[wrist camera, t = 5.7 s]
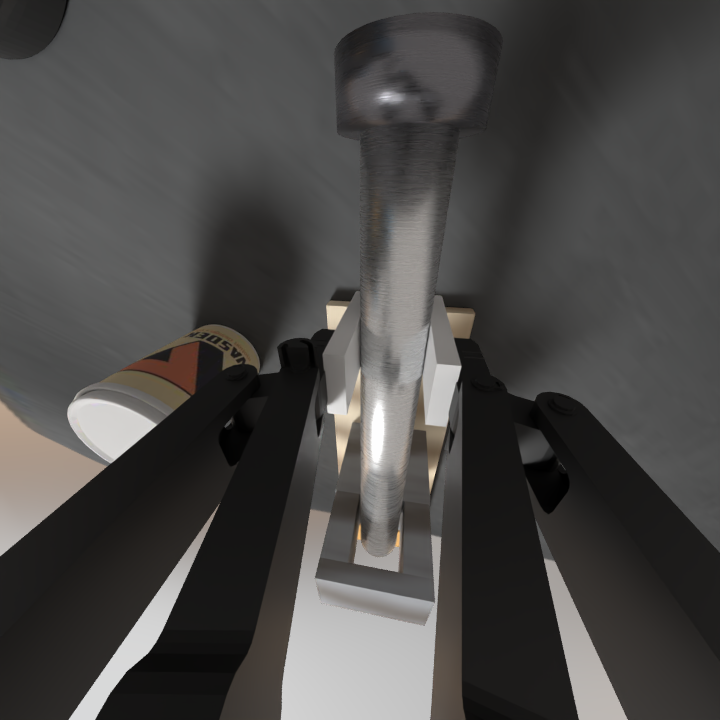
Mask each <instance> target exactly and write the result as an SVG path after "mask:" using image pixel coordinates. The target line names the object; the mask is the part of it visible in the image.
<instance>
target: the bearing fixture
mask: <svg viewBox="0 0 720 720" xmlns="http://www.w3.org/2000/svg"><path fill="white" fill-rule="evenodd" d="M349 303H350V302H349V301H331V300H330V301H329V302H328V304H327V305H326V307H327V321H328V329H332V330H336V328H337V326H338V324H339V322H340V320H341V318H342V316H343V315H344V313H345V311H346V309H347V307H348V305H349ZM445 309H446V312H447V316H448V319H449V323H450V327H451V330H452V334H453V337H454V338H466V339H469V337H470V333H471V329H472V325H473V321H474V317H475V313H474V311H473V309H472V308H454V307H445ZM448 421H449V418H448ZM447 425H448V422H447ZM335 428H336V441H337V455H338V468H339V478H338V482H337V486H336V490H335V491H336V495H335V499H334V503H333V507H332V511H331V515H330V519H329V523H328V527H327V531H326V535H325V539H324V543H323V547H322V552H321V556H320V560H319V564H318V568H317V572H316V576H315V580H316V584H317V589H318V593H319V597H320V601H321V604H326V605H330V606H335V607H340V608H344V609H349V610H354V611H358V612H363V613H368V614H372V615H377V616H381V617H386V618H391V619H395V620H400V621H404V622H409V623H414V624H419V625H423V626H424V625H425V623H426V621H427V619H428V616H429V614H430V612H431V610H432V607H433V606H434V603H435V598H434V579H433V563H432V545H431V526H430V505H431V504H430V492H431V488H432V484H433V480H434V476H435V472H436V468H437V464H438V460H439V456H440V452H441V448H442V444H443V440H444V437H445V433H446V429H447V426H446V427H442V426H434V425H425V410H424V393H423V376H422V379H421V386H420V392H419V398H418V405H417V411H416V418H415V424H414V431H413V437H412V443H411V450H410V456H409V463H408V469H407V476H406V482H405V488H404V495H403V501H402V508H401V514H400V520H399V527H398V530H400V541H399V571H398V572H394V571H388V570H383V569H377V568H373V567H367V566H362V565H357V564H354V557H355V551H356V544H357V538H358V531H359V525H360V524H361V419H360V370H359V374H358V377H357V381H356V384H355V388H354V391H353V395H352V399H351V402H350V406H349V409H348V413H347V415H340V414H335Z"/></svg>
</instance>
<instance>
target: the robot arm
mask: <svg viewBox="0 0 720 720" xmlns="http://www.w3.org/2000/svg"><path fill="white" fill-rule="evenodd" d="M65 5H66V0H0V58H4V59H24V58H28V57H31V56H34V55H36V54H38V53H39V52H40V51H42V50H43V49H44V48H45V47H46V46H47V45H48V44H49V43H50V42H51V41H52V39H53V38H54V36H55V34H56V33H57V31H58V28H59V26H60V24H61V21H62V17H63V14H64V10H65ZM277 348H278V353H279V358H280V364H281V369H280V372H278V373H271V374H262V375H259V374H258V370H257V368H256V367H255V366H253V365H250V364H238V365H233V366H231V367H228V368H226V369H224V370H223V371H221V372H220V373H218V374H217V375H216V376H215V377H214V378H212V379H211V380H210V381H209V382H208V383H206V384H205V385H204V386H203V387H202V388H201V389H199V390H198V391H197V392H196V393H195V394H193V395H192V396H191V397H190V398H189V399H187V400H186V401H185V402H184V403H183V404H181V405H180V406H179V407H178V408H177V409H176V410H174V411H173V412H172V413H171V414H170V415H168V416H167V417H166V418H165V419H164V420H162V421H161V422H160V423H159V424H158V425H156V426H155V427H154V428H153V429H152V430H150V431H149V432H148V433H147V434H146V435H145V436H143V437H142V438H141V439H140V440H139V441H137V442H136V443H135V444H134V445H133V446H131V447H130V448H129V449H128V450H127V451H125V452H124V453H123V454H122V455H121V456H119V457H118V458H117V459H116V460H115V461H114V462H112V463H111V464H110V465H109V466H108V467H106V468H105V469H104V470H103V471H102V472H100V473H99V474H98V475H97V476H96V477H95V478H93V479H92V480H91V481H90V482H88V483H87V484H86V485H85V486H84V487H83V488H81V489H80V490H79V491H78V492H77V493H75V494H74V495H73V496H72V497H71V498H69V499H68V500H67V501H66V502H65V503H64V504H62V505H61V506H60V507H59V508H58V509H56V510H55V511H54V512H53V513H52V514H50V515H49V516H48V517H47V518H46V519H44V520H43V521H42V522H41V523H40V524H38V525H37V526H36V527H35V528H34V529H32V530H31V531H30V532H29V533H28V534H27V535H25V536H24V537H23V538H22V539H21V540H19V541H18V542H17V543H16V544H15V545H14V546H12V547H11V548H10V549H9V550H8V551H6V552H5V553H4V554H3V555H1V556H0V720H69V718H70V717H71V715H72V714H73V712H74V711H75V710H76V708H77V707H78V705H79V704H80V702H81V701H82V699H83V698H84V697H85V695H86V694H87V692H88V691H89V689H90V688H91V686H92V685H93V684H94V682H95V681H96V679H97V678H98V677H99V675H100V674H101V672H102V671H103V669H104V668H105V667H106V665H107V664H108V662H109V661H110V659H111V658H112V657H113V655H114V654H115V652H116V651H117V649H118V648H119V646H120V645H121V644H122V642H123V641H124V639H125V638H126V637H127V635H128V634H129V632H130V631H131V629H132V628H133V627H134V625H135V624H136V622H137V621H138V619H139V618H140V616H141V615H142V614H143V612H144V611H145V609H146V608H147V606H148V605H149V604H150V602H151V601H152V599H153V598H154V596H155V595H156V594H157V592H158V591H159V589H160V588H161V586H162V585H163V584H164V582H165V581H166V579H167V578H168V576H169V575H170V574H171V572H172V571H173V569H174V568H175V566H176V565H177V564H178V562H179V561H180V559H181V558H182V556H183V555H184V554H185V552H186V551H187V549H188V548H189V546H190V545H191V543H192V542H193V541H194V539H195V538H196V536H197V535H198V533H199V532H200V531H201V529H202V528H203V526H204V525H205V523H206V522H207V520H208V519H209V518H210V516H211V515H212V513H213V512H214V511H215V509H216V507H217V506H218V505H219V503H220V505H219V507H218V509H217V511H216V513H215V516H214V518H213V520H212V522H211V525H210V527H209V529H208V532H207V533H206V536H205V538H204V540H203V542H202V544H201V547H200V549H199V551H198V553H197V556H196V558H195V560H194V562H193V565H192V567H191V569H190V572H189V574H188V575H187V578H186V580H185V582H184V584H183V587H182V589H181V591H180V593H179V595H178V598H177V600H176V602H175V604H174V606H173V609H172V611H171V613H170V615H169V618H168V620H167V622H166V624H165V626H164V629H163V631H162V633H161V634H160V636H159V638H158V640H157V642H156V643H155V645H154V646H153V648H152V649H151V650H150V652H149V653H148V654H147V655H146V656H145V657H143V658H142V659H141V660H140V661H139V662H138V663H136V664H135V665H134V666H133V667H132V668H131V669H129V670H128V671H127V672H126V674H125V675H124V676H123V678H122V679H121V680H120V681H119V683H118V684H117V685H116V687H115V688H114V689H113V690H112V692H111V693H110V695H109V697H108V698H107V700H106V702H105V703H104V705H103V707H102V709H101V710H100V712H99V714H98V716H97V718H96V719H95V720H281V709H282V701H281V700H282V680H283V673H284V666H285V660H286V654H287V648H288V642H289V635H290V629H291V623H292V617H293V611H294V605H295V599H296V593H297V586H298V580H299V574H300V568H301V562H302V556H303V550H304V544H305V538H306V531H307V525H308V518H309V513H310V507H311V501H312V495H313V489H314V482H315V476H316V470H317V464H318V458H319V452H320V446H321V440H322V433H323V427H324V410H325V407H326V404H327V409H328V413H331V414H340V415H347V413H348V409H349V406H350V402H351V399H352V395H353V391H354V388H355V384H356V381H357V377H358V374H359V370H360V291H356V292H355V294H354V296H353V298H352V300H351V301H350V303H349V305H348V307H347V309H346V311H345V313H344V315H343V316H342V318H341V320H340V322H339V324H338V326H337V328H336V330H332V329H321V330H320V331H318V332H316V333H315V334H314V335H313V337H312V338H311V340H310V339H307V338H294V339H290V340H286V341H285V342H283V343H281V344H280V345H279V346H278V347H277ZM422 376H423V393H424V410H425V425H434V426H442V427H446V426H447V422H448V418H449V421H450V429H449V433H448V437H447V441H446V444H445V448H444V451H447V455H446V472H445V488H444V505H443V522H442V538H441V557H440V573H439V589H438V605H437V622H436V639H435V656H434V672H433V689H432V706H431V719H430V720H579V719H578V714H577V710H576V705H575V700H574V696H573V691H572V686H571V682H570V678H569V673H568V668H567V664H566V659H565V655H564V650H563V645H562V641H561V636H560V631H559V627H558V622H557V618H556V613H555V609H554V604H553V600H552V595H551V591H550V586H549V581H548V577H547V572H546V568H545V563H544V558H543V554H542V549H541V544H540V540H539V535H538V531H537V526H536V522H535V519H536V521H537V523H538V525H539V527H540V529H541V532H542V534H543V536H544V538H545V540H546V543H547V545H548V547H549V549H550V551H551V553H552V556H553V558H554V560H555V562H556V564H557V566H558V569H559V571H560V573H561V575H562V577H563V579H564V582H565V584H566V586H567V588H568V590H569V592H570V595H571V597H572V599H573V601H574V603H575V606H576V608H577V610H578V612H579V614H580V617H581V619H582V621H583V623H584V625H585V627H586V630H587V632H588V634H589V636H590V638H591V640H592V643H593V645H594V647H595V649H596V651H597V653H598V656H599V658H600V660H601V662H602V664H603V667H604V669H605V671H606V673H607V675H608V677H609V679H610V682H611V684H612V686H613V688H614V690H615V693H616V695H617V697H618V699H619V701H620V704H621V706H622V708H623V710H624V712H625V715H626V716H627V719H628V720H720V553H719V552H718V550H717V549H716V548H715V547H714V546H713V545H712V544H711V543H710V542H709V541H708V540H707V539H706V537H705V536H704V535H703V534H702V533H701V532H700V531H699V530H698V529H697V528H696V527H695V525H694V524H693V523H692V522H691V521H690V520H689V519H688V518H687V517H686V516H685V515H684V514H683V512H682V511H681V510H680V509H679V508H678V507H677V506H676V505H675V504H674V503H673V502H672V500H671V499H670V498H669V497H668V496H667V495H666V494H665V493H664V492H663V491H662V490H661V489H660V487H659V486H658V485H657V484H656V483H655V482H654V481H653V480H652V479H651V478H650V477H649V475H648V474H647V473H646V472H645V471H644V470H643V469H642V468H641V467H640V466H639V465H638V464H637V462H636V461H635V460H634V459H633V458H632V457H631V456H630V455H629V454H628V453H627V452H626V450H625V449H624V448H623V447H622V446H621V445H620V444H619V443H618V442H617V441H616V440H615V439H614V437H613V436H612V435H611V434H610V433H609V432H608V431H607V430H606V429H605V428H604V427H603V426H602V424H601V423H600V422H599V421H598V420H597V419H596V418H595V417H594V416H593V415H592V414H591V412H590V411H589V410H588V409H587V408H586V407H585V406H583V405H582V404H581V403H580V402H578V401H577V400H575V399H573V398H571V397H569V396H567V395H564V394H560V393H554V392H543V393H540V394H539V395H537V397H536V399H535V401H531V400H527V399H524V398H521V397H517V396H514V395H512V394H509V393H507V389H506V387H505V385H504V384H503V383H502V382H501V381H500V380H499V379H497V378H495V377H493V376H491V375H490V372H489V370H488V367H487V365H486V363H485V360H484V359H483V356H482V353H481V351H480V348H479V346H478V345H477V344H476V343H475V342H474V341H473V340H471V339H466V338H454V337H453V334H452V330H451V327H450V323H449V319H448V316H447V312H446V309H445V305H444V302H443V298H442V296H440V295H435V296H434V302H433V309H432V315H431V321H430V328H429V334H428V340H427V347H426V353H425V360H424V366H423V372H422ZM229 420H231V423H230V425H229V426H227V427H226V428H225V427H224V426H225V425H226V423H227V422H228V421H229ZM561 463H562V465H563V466H562V465H561ZM563 467H564V468H565V469H564V468H563ZM534 516H535V517H534Z"/></svg>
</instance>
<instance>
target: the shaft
mask: <svg viewBox="0 0 720 720" xmlns="http://www.w3.org/2000/svg"><path fill="white" fill-rule="evenodd" d="M502 43H503V39H502V35H501V34H500V32H499V31H498V30H497V29H496V28H495V27H494V26H492V25H491V24H489V23H487V22H485V21H483V20H481V19H478V18H474V17H471V16H466V15H461V14H453V13H435V12H429V13H413V14H405V15H399V16H394V17H389V18H385V19H381V20H378V21H375V22H372V23H369V24H366V25H364V26H362V27H360V28H358V29H355V30H354V31H352V32H351V33H349V34H347V35H346V36H345V37H344V38H343V39H342V40H341V41H340V42H339V43H338V44H337V46H336V48H335V52H334V59H335V86H336V113H337V133H338V134H339V135H340V136H342V137H345V138H349V139H353V140H360V419H361V542H362V545H363V547H364V549H365V550H366V551H367V552H368V553H369V554H371V555H373V556H375V557H384V556H386V555H388V554H390V553H391V552H392V551H393V549H394V547H395V545H396V540H397V533H398V527H399V520H400V514H401V508H402V501H403V495H404V488H405V482H406V476H407V469H408V463H409V456H410V450H411V443H412V437H413V431H414V424H415V418H416V411H417V405H418V398H419V392H420V386H421V379H422V372H423V366H424V360H425V353H426V347H427V340H428V334H429V328H430V321H431V315H432V309H433V302H434V296H435V289H436V283H437V276H438V270H439V264H440V257H441V251H442V244H443V238H444V232H445V225H446V219H447V212H448V206H449V199H450V193H451V187H452V180H453V174H454V167H455V161H456V154H457V148H458V142H459V138H463V137H468V136H472V135H475V134H478V133H481V132H483V131H484V130H485V129H486V126H487V121H488V115H489V110H490V105H491V100H492V95H493V90H494V85H495V80H496V74H497V69H498V64H499V59H500V54H501V49H502Z"/></svg>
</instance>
